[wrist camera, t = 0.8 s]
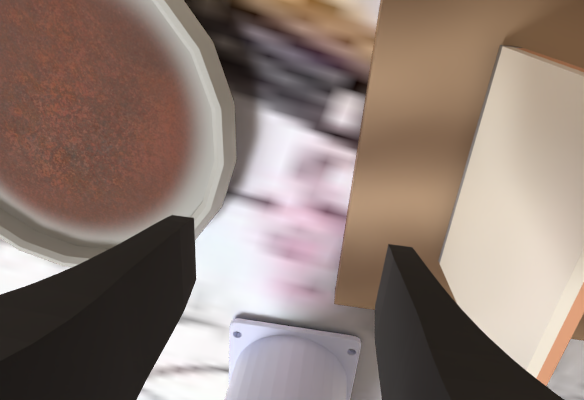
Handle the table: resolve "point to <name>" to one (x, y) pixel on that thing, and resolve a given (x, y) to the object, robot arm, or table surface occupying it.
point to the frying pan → (108, 123)
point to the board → (432, 122)
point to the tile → (523, 211)
